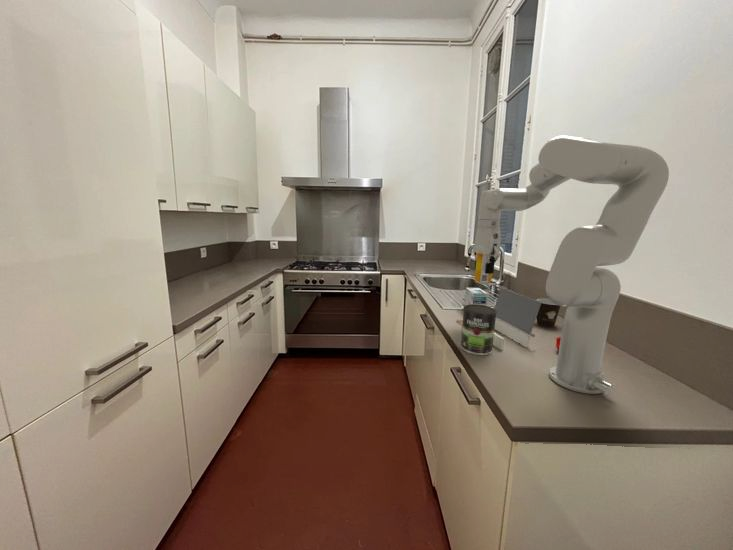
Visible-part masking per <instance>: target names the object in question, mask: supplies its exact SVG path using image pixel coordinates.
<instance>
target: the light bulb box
mask: <svg viewBox="0 0 733 550" xmlns="http://www.w3.org/2000/svg"><path fill="white" fill-rule="evenodd" d="M465 289H466V292H465V305H464V306H466V305H472V304H473V305H484V306H488V300H489V299H488V298H489V293H488V292H486V291H485V290H483V289H481V288H480V287H465Z"/></svg>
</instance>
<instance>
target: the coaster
mask: <svg viewBox="0 0 733 550" xmlns="http://www.w3.org/2000/svg"><path fill="white" fill-rule="evenodd" d="M456 323H457V324H458V323H459V324H458V325H460V324H461V326H462V324H463V317H462V318H458V319H456Z"/></svg>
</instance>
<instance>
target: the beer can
mask: <svg viewBox="0 0 733 550" xmlns="http://www.w3.org/2000/svg"><path fill="white" fill-rule="evenodd" d="M492 254H493V253H491V254H490V255H492ZM491 258H492V257H490V259H491ZM486 263H488V262H487V255H485V253H484V247H483V245H481V244H479V246H478V250H477V260H476V270H475V269H474V271H475V272H474V282H475V283H476V284H479V285H490V283H491V282H492V278H493V277H492V276H493V273H491V274H486V273H485V269H486Z"/></svg>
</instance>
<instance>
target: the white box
mask: <svg viewBox="0 0 733 550" xmlns="http://www.w3.org/2000/svg"><path fill="white" fill-rule="evenodd" d="M494 331H497V332H499V333H500V332H501V333H500V334H502V335H503V336H505V335H506V337H507V338H509V339H511V340H512V339H513V340H512V341H514V342H516V343H517V344H519V343H520V344H519V345H521V344H522V346H523V347H524V348H529V346H530V345H529V344H530V337H532V338H535V337H536V335H535V333H532V332H530V334H529V335H528V334H526V333H524V332H522V331H521V330H519V329H517V328H515V327H513V326H511V325H509V324H507V323H505V322H503V321H501V320H499V319H497V318H496V320H495V328H494ZM503 336H501V335H499V334H498V333H496V332H494V337H493V346H494V347H496V348H497V349H499V350H500V351H502V350H504V348H505V347H504V346H505V345H504V344H505V338H504V337H503Z"/></svg>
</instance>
